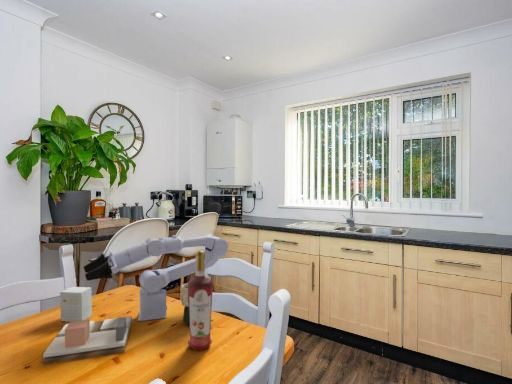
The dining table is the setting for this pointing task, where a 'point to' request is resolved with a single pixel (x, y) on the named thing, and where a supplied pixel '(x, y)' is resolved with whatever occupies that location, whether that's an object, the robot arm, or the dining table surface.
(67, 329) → the block
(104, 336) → the white tray
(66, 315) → the small box
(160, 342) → the dining table surface
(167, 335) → the dining table surface
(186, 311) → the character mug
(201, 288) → the liquor
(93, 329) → the board
